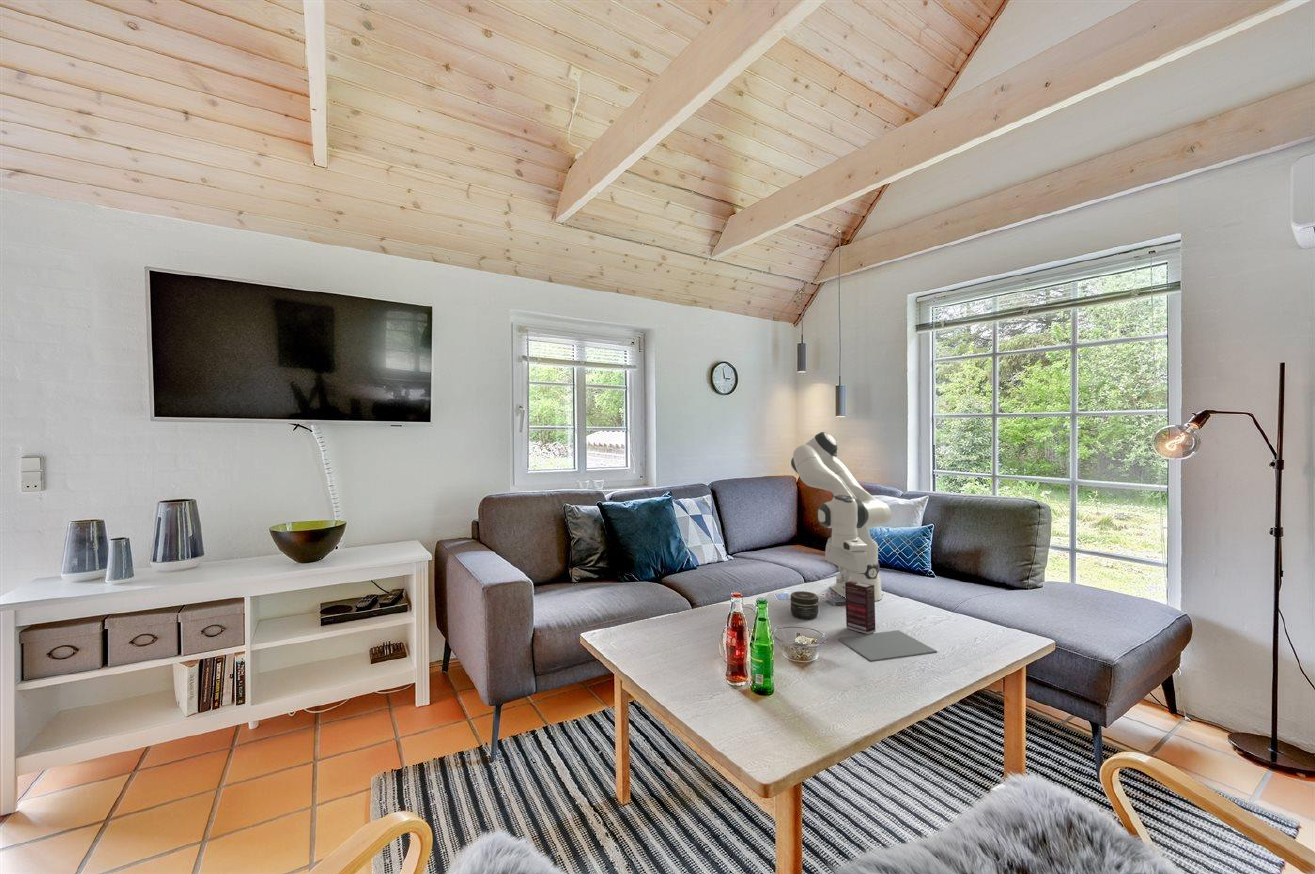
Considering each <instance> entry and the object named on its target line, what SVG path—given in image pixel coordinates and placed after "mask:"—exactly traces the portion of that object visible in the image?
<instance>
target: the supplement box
mask: <svg viewBox="0 0 1315 874" xmlns="http://www.w3.org/2000/svg"><path fill="white" fill-rule="evenodd" d="M845 594H846V598H845V621H846V625H845V627H846V629H849V630H853V631H855V632H858V633H861V634H872V633H876V604H875V602H876V601H875V596H874V585H871V584H866V583H862V582H857V581H849V582H845Z"/></svg>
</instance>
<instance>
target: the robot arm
mask: <svg viewBox="0 0 1315 874" xmlns="http://www.w3.org/2000/svg"><path fill="white" fill-rule="evenodd" d="M837 456H838V443H837V441H836V440H835V438H834V436H832V435H831V434H829V433H827V432H825V431H822V432H819V433H817V434H816V435H814V437H813V438H811V439H810V440H809V441H807V442H806V443H805V444H802V445H799V446H797V447H796V448H795V449H794V451H793V454H792V458H791V459H790V460H791V461H790V465H791V468H792V469H793V470H794V471H795V473H796V474H797V475H798V476H799V479H800V480H801V481H802V482H803V483H804V485H806V486H808V487H811V488H815V489H820V490H824V491H829V492H830V493H832V495H833V497H832V500H829V501H827V502H823V503H821V504H820V505H819V507H818V508H817V512H816V518H817V522H818V523H819V524H820V525H821V526H822V527H823V528H828V529H831V536H829V537H828V539H827V542H826V545H825V553H824V554H825V555H824V558H825V561H826V562H827V563H831V564H833V565H836V566H837V568H838V569H837V570H838V573H837V574H836V577H835V578H836V579H835V583H832V584H830V585H829V588H830V589H831V590H833V591H834V592H836V594H837V595H839V596H840V595H841V597H842V596H843V597H846V594H845V582H849V581H857V582H862V583H866V584H871V585H874V596H875V602H877V601H881V600H882V598H883V596H884V591H882V580H881V575H880V574H879V573H880V562H879V545H878V542H877V541H876V540H875V539H873V538H872V536H871V533H870V529H872V528H880V527H881V526H884V525H886V524H887V523H889V522H890V520H891V517H892V511H891V508H890V506H889V505H888V504H887V503H885V502H883V501H881V500H879V499H877V498H876V497H874V496H873V495H872V494H870V493H869V492H868V491H867V490H866V489H864V487H862V486H861V485H860V484H859V482H858V481H857V479H856V478H855V477H854V476H853V474H852V473H851V472H850V470H849V469H848V467H847V466H846V465H845V464H844V462H842V461H841V460H840V459H839V458H838V457H837ZM843 597H842V598H843Z"/></svg>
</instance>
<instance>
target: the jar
mask: <svg viewBox="0 0 1315 874" xmlns="http://www.w3.org/2000/svg"><path fill="white" fill-rule="evenodd" d="M790 612H791V615H792V616H793V617H794V618H796V619H799V620H807V621H809V620H814V619H817V617H818V614H819V595H817V594H816V593H813V592H810V591H806V590H805V591H801V590H800V591H799V590H798V591H793V592H792V593H790Z"/></svg>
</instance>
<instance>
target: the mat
mask: <svg viewBox="0 0 1315 874" xmlns="http://www.w3.org/2000/svg"><path fill="white" fill-rule="evenodd" d="M836 640H838V641H839V642H840V643H842V644H844V645H845V646H847V647H848V648H850V649H851V650H852V651H855V652H856V653H857V654H859V655H861V657H863V658H865V660H868V661H869V662H878V661H884V660H890V659H892V660H893V659H899V658H905V657H907V658H908V657H913V656H919V655H929V654H934V653H938V650H936V649H934V648H932V647H931V646H929V645H927V644H925V643H923V642H921V641H919V640H917V639H916V638H914V637H912V636H910V635H908V634H906V633H905V632H903V631H900V630H899V629H897V630H891V631H883V632H882V631H881V632H874V633H871V634H865V633H863V634H857V635H856V634H855V635H849V636H848V635H847V636H841V637H837V638H836Z"/></svg>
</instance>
